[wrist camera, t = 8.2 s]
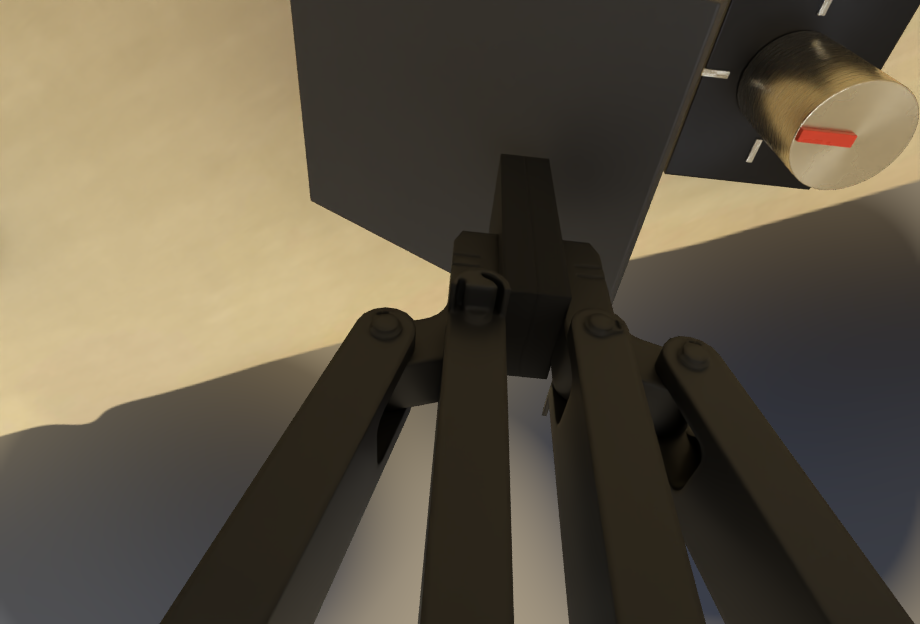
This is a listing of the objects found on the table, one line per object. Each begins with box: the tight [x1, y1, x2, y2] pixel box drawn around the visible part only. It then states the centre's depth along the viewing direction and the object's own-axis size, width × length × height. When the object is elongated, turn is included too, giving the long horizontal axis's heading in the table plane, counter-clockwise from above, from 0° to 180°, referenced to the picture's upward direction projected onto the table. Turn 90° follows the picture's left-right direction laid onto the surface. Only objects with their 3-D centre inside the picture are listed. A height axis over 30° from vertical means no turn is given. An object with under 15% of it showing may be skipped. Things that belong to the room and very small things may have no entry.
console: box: [663, 0, 920, 190], centre depth 30 cm, size 12×9×3 cm
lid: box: [290, 0, 727, 304], centre depth 20 cm, size 15×12×1 cm
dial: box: [737, 31, 919, 190], centre depth 26 cm, size 5×5×7 cm
